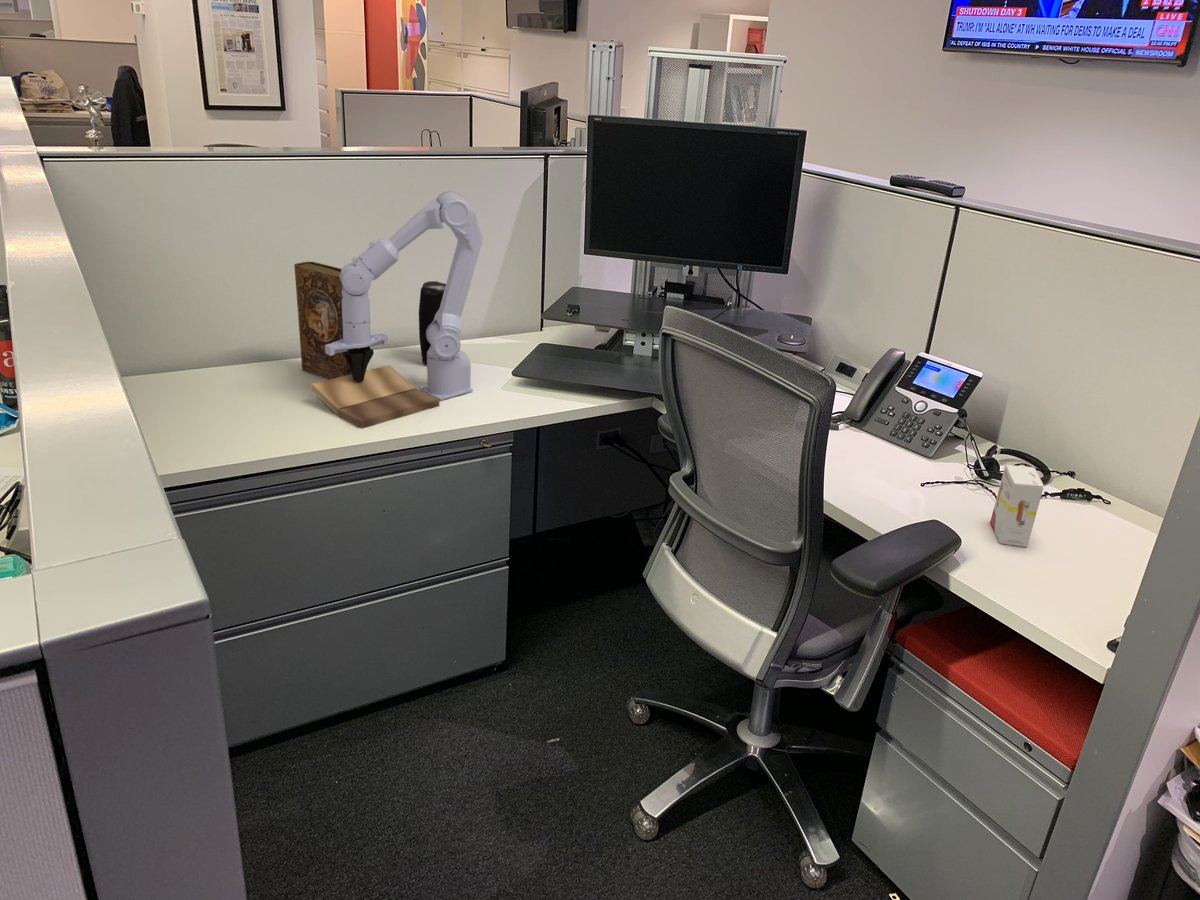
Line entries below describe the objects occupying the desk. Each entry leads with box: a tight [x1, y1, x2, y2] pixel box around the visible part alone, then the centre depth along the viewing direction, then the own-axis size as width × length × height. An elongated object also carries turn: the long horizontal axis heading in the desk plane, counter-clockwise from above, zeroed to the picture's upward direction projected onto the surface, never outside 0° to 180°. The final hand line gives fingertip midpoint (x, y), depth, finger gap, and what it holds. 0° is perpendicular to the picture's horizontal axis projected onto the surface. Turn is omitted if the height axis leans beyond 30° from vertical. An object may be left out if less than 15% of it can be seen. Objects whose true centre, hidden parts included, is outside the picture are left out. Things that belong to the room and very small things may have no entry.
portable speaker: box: [418, 280, 446, 364], centre depth 221 cm, size 9×9×20 cm
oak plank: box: [310, 364, 417, 415], centre depth 199 cm, size 20×10×2 cm, turn 138°
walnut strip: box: [338, 388, 440, 429], centre depth 194 cm, size 20×8×2 cm, turn 138°
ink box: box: [989, 464, 1044, 548], centre depth 158 cm, size 9×5×12 cm, turn 168°
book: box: [293, 261, 352, 380], centre depth 208 cm, size 16×6×25 cm, turn 58°
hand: (358, 380), depth 199 cm, fingers closed, pressing on oak plank
